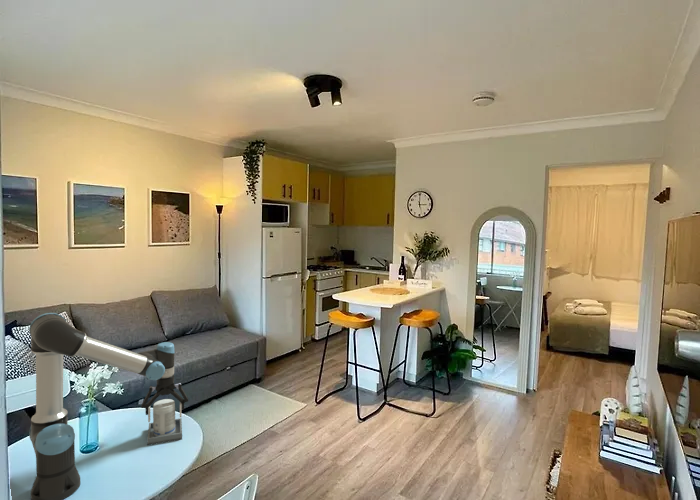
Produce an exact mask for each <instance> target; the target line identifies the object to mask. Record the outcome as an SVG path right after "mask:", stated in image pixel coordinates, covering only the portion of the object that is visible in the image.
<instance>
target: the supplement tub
mask: <svg viewBox="0 0 700 500" xmlns="http://www.w3.org/2000/svg"><path fill="white" fill-rule="evenodd" d="M175 403H176V402H175V400H173V399H171V398H164V399H160V400H157V401H155V402H153V404H152V406H153V407H152V419H153V420H152V421H153V422H152V423H153V432H154V435H155V436H156V437H157V436H163V435H169V434H172V433H174V431H175V419H176V404H175Z"/></svg>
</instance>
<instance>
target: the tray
mask: <svg viewBox="0 0 700 500" xmlns="http://www.w3.org/2000/svg"><path fill="white" fill-rule="evenodd" d="M146 440H147V442H146V443H147V444H146V445H147V446H151V444H152V445H155V444H156V443H157V444H161V443H162V442H163V443H168V441H169V442H174V440H175V441H179V440H183V422H182V417H179V418H175V431H174V433H172V434H169V435H163V436H157V437H156V436H155V435H154V432H153V422H148V431H147V439H146ZM163 443H162V444H163ZM157 444H156V445H157Z"/></svg>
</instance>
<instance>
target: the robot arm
mask: <svg viewBox="0 0 700 500" xmlns="http://www.w3.org/2000/svg"><path fill="white" fill-rule="evenodd" d="M29 325H30V326H29V329H28V331H29V335H30V351H31V353H33V354H34V355H35V413H34V415H32V416H31V418H30V427H29V433H28V435H29V439H30V442H31V444H32V447H33V451H34V453H35V465H36V467H35V468H36V469H35V470H36V476H35V479H34V481H33V484H32V488H31V490H30V500H64V499H67V498H68V497H70V496H71V495H73V494H74V493H75V492H77V490H78V489H79V488H80V486H81V475H80V473H79V470H78V469H77V467H76V464H75V460H76V459H75V458H76V456H75V455H76V453H75V450H76V449H75V439H76V434H75V430H74V427H73V426H72V425H70V424H68V423H69V422H68V419H69V418H68V412H69V411H68V410H67V409H66V408H64V356H67V357H71V358H73V357H75V356H77V357H80V358H84V359H87V360H89V361H94V362H97V363H101V364H104V365H107V366H110V367H113V368H118V369H121V370H124V371H127V372H131V373H134V374H137V375H140V376H143V377H146V378H147V379H148V380H151V381H156V386H152V385H150V386H149V389H148V392H147V394H146V395H145V397H144V399H143V401H142V403H141V405H140V406H141V409H143V408H144V409H145V416H147V421H148V423H151V405H153V404H154V403H155V402H156V400H157V399H158V398H159V397H160V396H169V395H171V396H173V397H174V398H175V399H177V401H178V402H179V418H182V410H183V411H184V410H185V404H186V403H188V402H189V397H188V396H187V394H186V392H185V390H184V389H183V387H182V382H178V383H175V375H174V374H175V344H174V343H173V342H169V341H168V342H167V341H164V342H163V341H162V342H159V343H158V344H157V345H156V348H155V349H151V350H144V351H140V352H134V351H131V350H128V349H126V348H123V347H120V346H116V345H113V344H111V343H110V344H109V343H108V342H105V341H101V340H99V339H95V338H93V337H90V336H88V335H87V334H86V332H84V331H81V330H78V329H77V328H75V327H73V326H72V325H71V324H69V323H68V321H67V320H66V318H65V317H64V316H63V315H62V314H61V315H60V314H58V313H56V312H46V313H42V314H39V315H38V316H37V317H35V318H34V319H33V320H32V321H31V322H30V324H29ZM175 388H176V389H177V390H178V391H179V392H180V394H181V396H182V397H181V396H180V394H179V393H178V392H176V391H175ZM154 391H156V392H155V393H154V395H153V396H152V392H154ZM151 396H152V397H151ZM150 397H151V398H150ZM149 398H150V400H149ZM148 400H149V401H148Z"/></svg>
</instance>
